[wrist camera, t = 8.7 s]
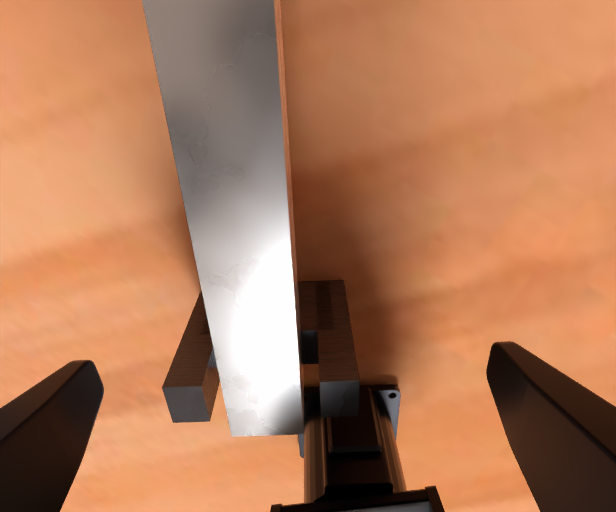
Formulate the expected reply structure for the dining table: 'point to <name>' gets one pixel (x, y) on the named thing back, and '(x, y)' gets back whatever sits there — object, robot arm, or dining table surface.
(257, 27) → the grey metal bar
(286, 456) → the dining table surface
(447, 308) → the dining table surface
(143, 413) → the dining table surface
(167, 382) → the collar stand
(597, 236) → the dining table surface
